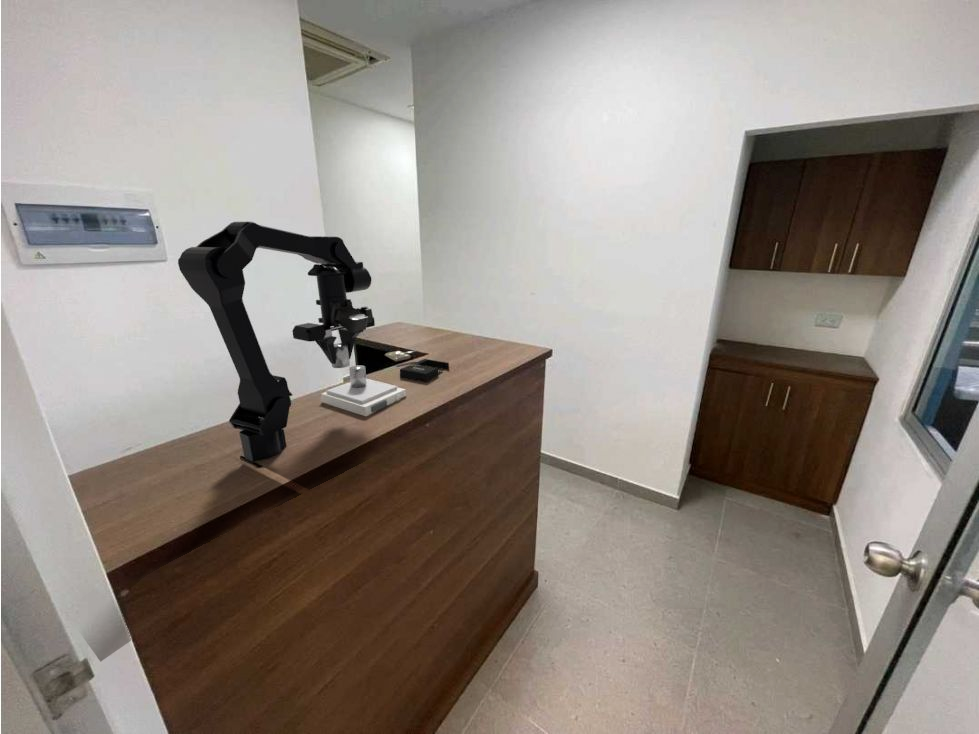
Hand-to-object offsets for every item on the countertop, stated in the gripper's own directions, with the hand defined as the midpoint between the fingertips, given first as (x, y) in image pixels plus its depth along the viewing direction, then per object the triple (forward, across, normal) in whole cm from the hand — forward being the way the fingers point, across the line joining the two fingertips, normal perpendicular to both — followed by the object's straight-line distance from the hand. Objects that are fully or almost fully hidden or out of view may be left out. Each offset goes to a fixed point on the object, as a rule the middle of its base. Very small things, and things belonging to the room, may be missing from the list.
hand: (340, 361), depth 91 cm
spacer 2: (+10, +8, +4) cm, 13 cm away
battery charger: (+14, +30, -1) cm, 33 cm away
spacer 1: (+1, 0, 0) cm, 1 cm away
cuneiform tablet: (+11, +35, +11) cm, 39 cm away
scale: (+13, +7, +1) cm, 14 cm away
